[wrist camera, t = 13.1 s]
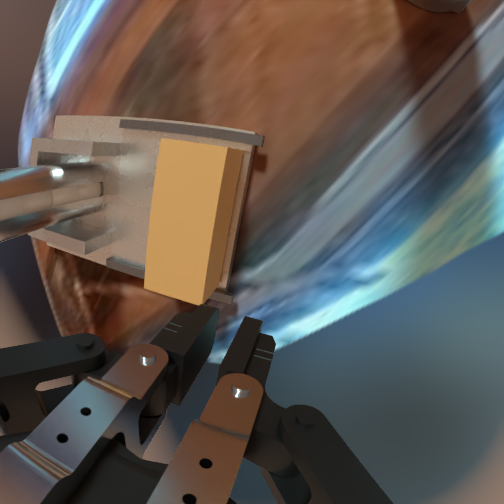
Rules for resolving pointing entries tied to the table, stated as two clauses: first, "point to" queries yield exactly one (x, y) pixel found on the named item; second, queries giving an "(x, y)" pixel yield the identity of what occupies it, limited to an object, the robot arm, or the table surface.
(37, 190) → the air filter
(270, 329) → the table surface
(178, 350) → the robot arm
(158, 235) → the block
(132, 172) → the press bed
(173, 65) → the table surface
